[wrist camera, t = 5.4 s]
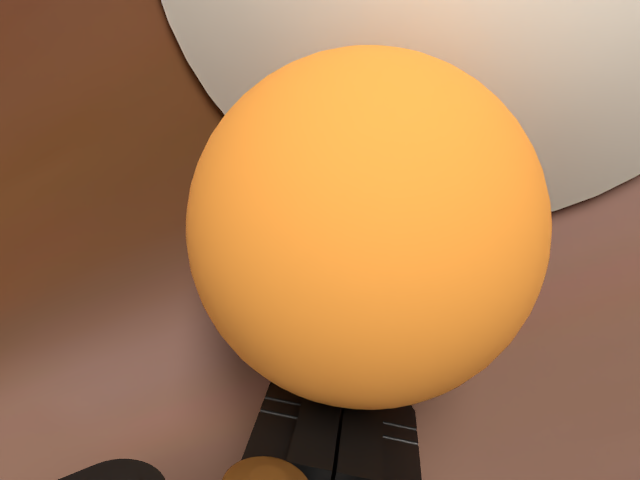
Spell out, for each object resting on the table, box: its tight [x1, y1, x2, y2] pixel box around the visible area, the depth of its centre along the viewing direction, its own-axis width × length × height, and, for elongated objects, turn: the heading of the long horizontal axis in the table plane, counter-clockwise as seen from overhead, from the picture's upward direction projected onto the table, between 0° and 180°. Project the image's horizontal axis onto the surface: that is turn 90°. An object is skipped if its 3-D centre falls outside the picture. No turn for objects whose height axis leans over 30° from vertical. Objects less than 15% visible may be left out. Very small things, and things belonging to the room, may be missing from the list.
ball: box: [186, 45, 552, 410], centre depth 9 cm, size 6×6×6 cm
